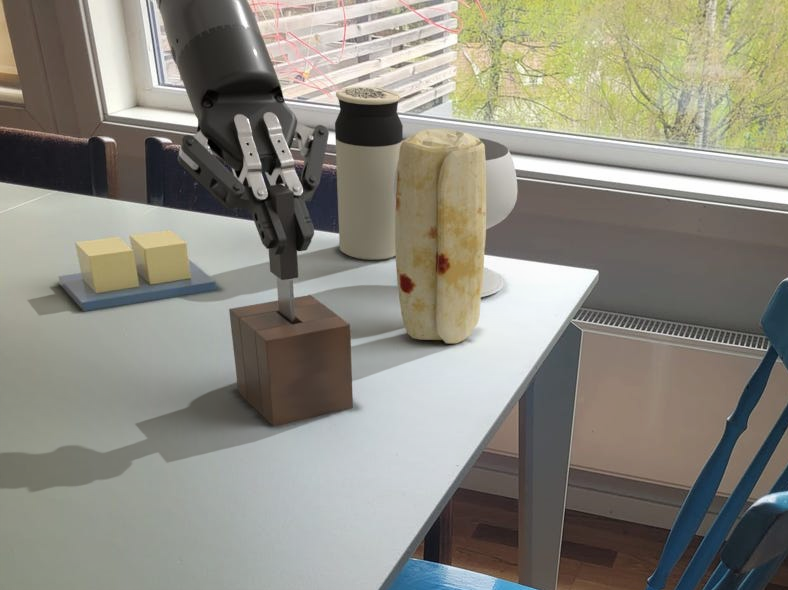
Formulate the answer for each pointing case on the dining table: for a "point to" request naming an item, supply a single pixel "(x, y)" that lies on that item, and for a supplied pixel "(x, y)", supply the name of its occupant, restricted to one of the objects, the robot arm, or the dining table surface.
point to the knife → (286, 262)
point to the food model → (440, 233)
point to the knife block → (292, 360)
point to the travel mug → (367, 170)
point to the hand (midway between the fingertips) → (293, 247)
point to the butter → (133, 271)
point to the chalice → (494, 198)
